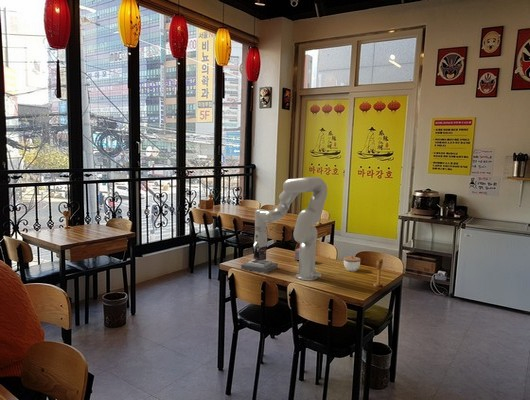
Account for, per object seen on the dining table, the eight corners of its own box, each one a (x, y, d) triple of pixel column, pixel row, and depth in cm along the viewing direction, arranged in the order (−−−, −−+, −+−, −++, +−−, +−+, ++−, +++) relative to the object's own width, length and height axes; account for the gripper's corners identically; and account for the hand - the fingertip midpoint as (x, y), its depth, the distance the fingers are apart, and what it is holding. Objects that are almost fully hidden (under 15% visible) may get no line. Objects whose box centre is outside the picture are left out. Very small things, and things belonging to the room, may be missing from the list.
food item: (315, 262, 277) (316, 248, 276) (308, 264, 271) (308, 250, 270) (300, 258, 286) (300, 245, 286) (293, 260, 281) (293, 246, 280)
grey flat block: (277, 267, 261) (277, 260, 261) (266, 273, 247) (266, 266, 246) (253, 263, 269) (253, 257, 269) (241, 269, 255) (241, 262, 255)
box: (258, 261, 253) (258, 249, 253) (253, 258, 258) (253, 247, 257) (266, 259, 257) (266, 248, 256) (260, 257, 262) (261, 246, 261)
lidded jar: (339, 269, 260) (340, 255, 259) (349, 267, 267) (349, 253, 266) (354, 273, 252) (354, 258, 251) (363, 270, 260) (364, 256, 259)
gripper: (259, 231, 246) (258, 259, 248) (272, 227, 262) (271, 254, 263) (248, 230, 249) (248, 258, 251) (261, 226, 265) (260, 252, 267)
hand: (259, 255), depth 257 cm, fingers closed on box, 8 cm apart
